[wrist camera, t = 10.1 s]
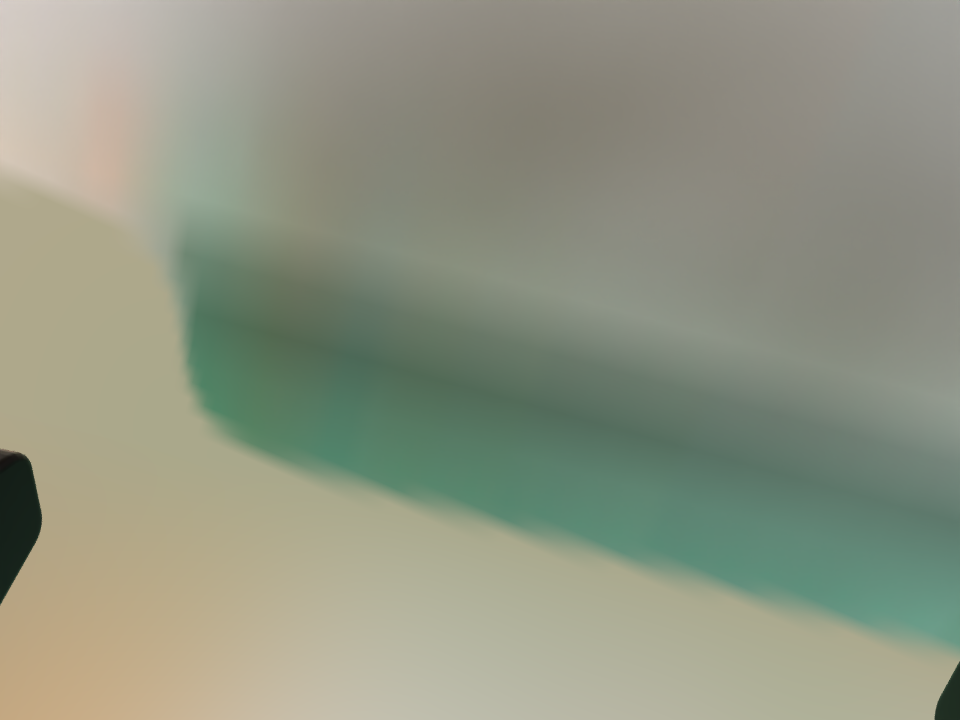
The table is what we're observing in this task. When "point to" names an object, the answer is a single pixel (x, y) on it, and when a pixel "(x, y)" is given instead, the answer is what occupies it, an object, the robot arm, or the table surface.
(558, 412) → the table surface
